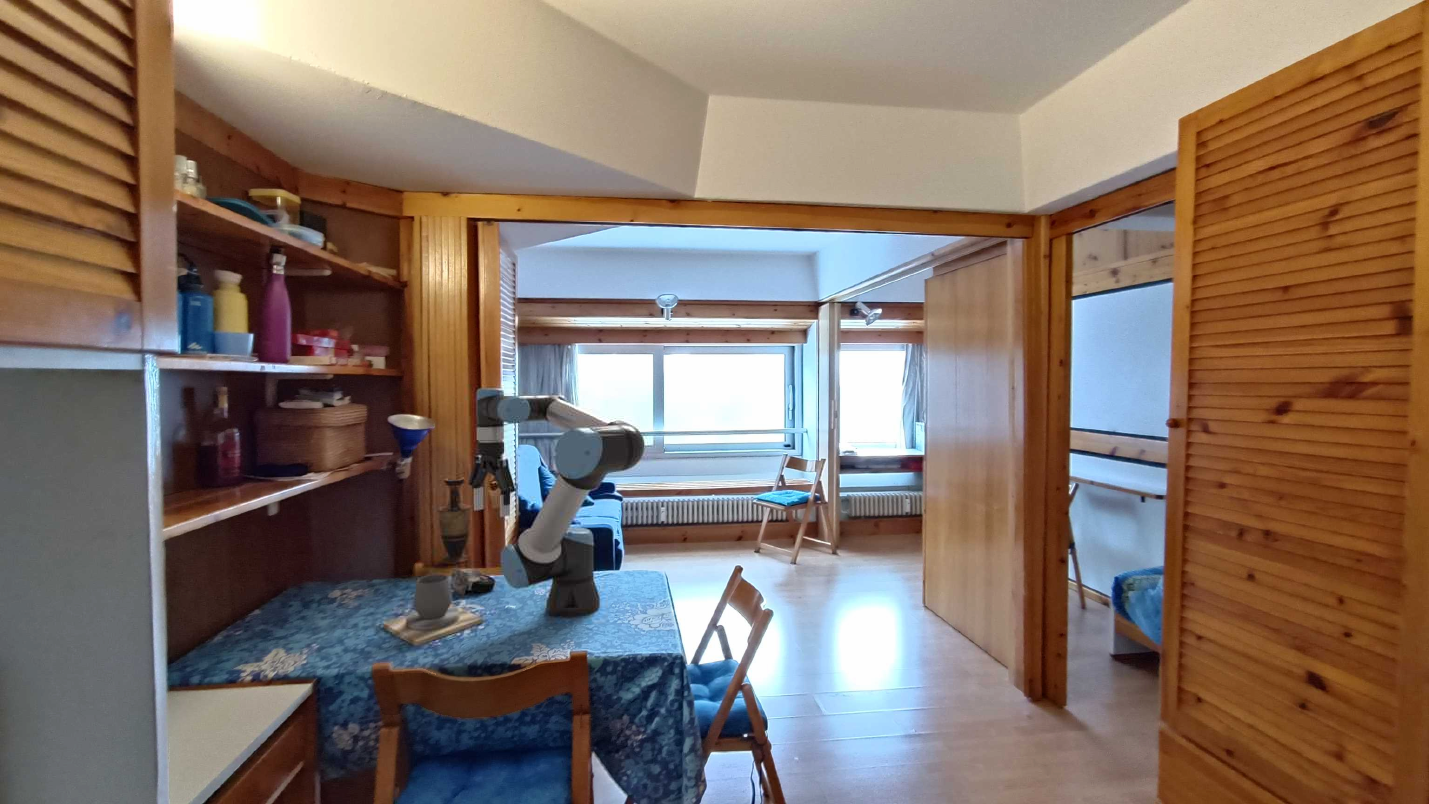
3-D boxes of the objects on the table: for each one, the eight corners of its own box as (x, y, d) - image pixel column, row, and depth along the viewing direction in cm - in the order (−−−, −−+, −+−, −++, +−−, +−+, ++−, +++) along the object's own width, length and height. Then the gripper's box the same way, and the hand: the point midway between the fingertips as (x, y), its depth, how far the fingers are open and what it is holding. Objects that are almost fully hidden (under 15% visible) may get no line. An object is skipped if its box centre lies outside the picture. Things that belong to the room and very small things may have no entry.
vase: (442, 557, 219) (440, 476, 218) (473, 555, 222) (472, 475, 220) (436, 566, 208) (434, 481, 207) (469, 564, 211) (467, 480, 210)
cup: (412, 625, 153) (411, 586, 153) (414, 611, 162) (414, 575, 162) (452, 619, 157) (451, 582, 157) (452, 606, 166) (452, 571, 165)
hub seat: (482, 622, 161) (482, 613, 161) (416, 646, 147) (415, 636, 147) (447, 606, 172) (447, 597, 172) (382, 627, 158) (382, 617, 158)
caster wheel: (497, 595, 188) (473, 601, 179) (471, 583, 193) (446, 588, 184) (502, 575, 188) (479, 580, 179) (476, 563, 193) (452, 567, 184)
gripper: (527, 442, 169) (528, 516, 170) (478, 437, 184) (479, 504, 185) (504, 445, 163) (504, 521, 164) (455, 439, 179) (456, 509, 179)
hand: (491, 512), depth 175 cm, fingers open, 13 cm apart
